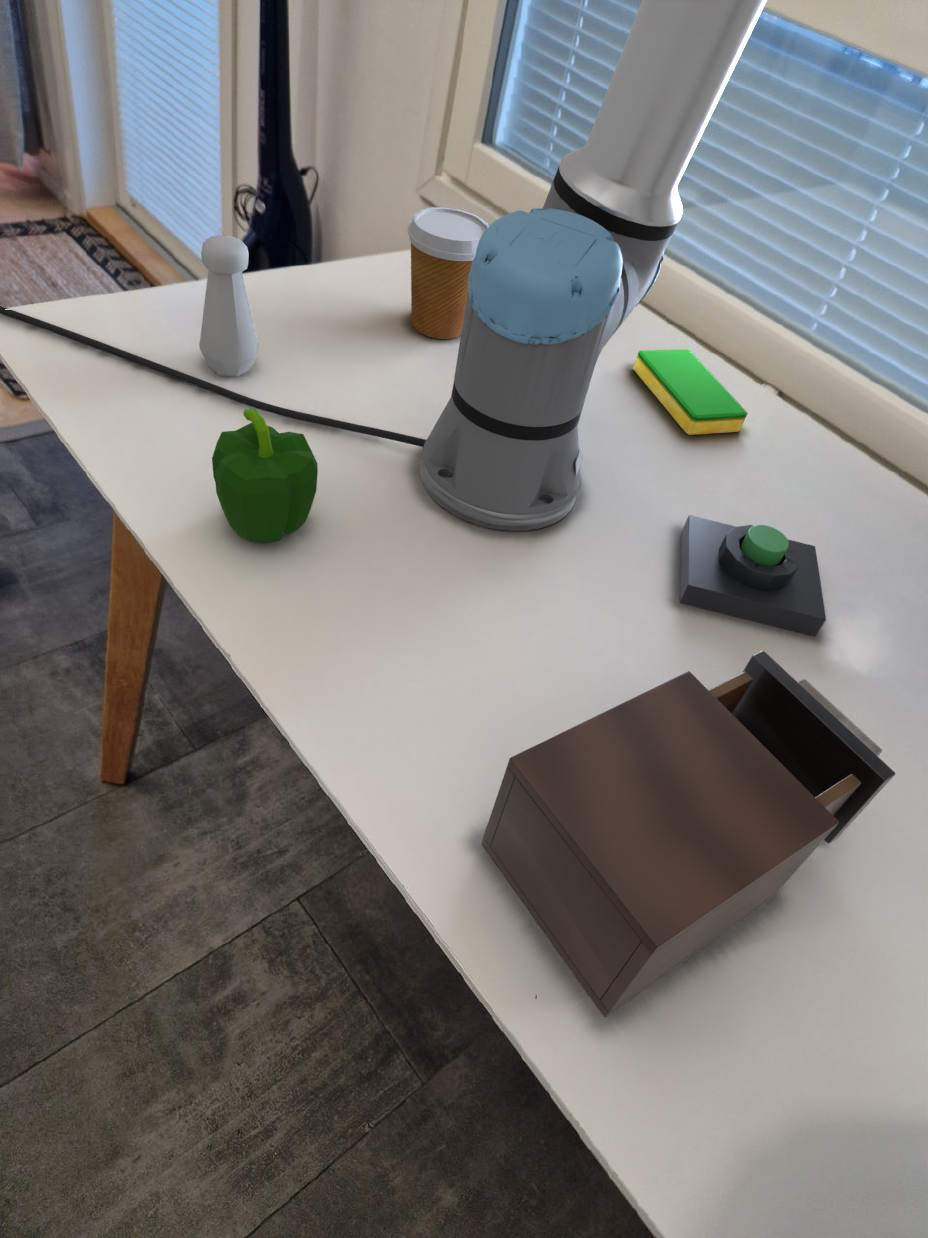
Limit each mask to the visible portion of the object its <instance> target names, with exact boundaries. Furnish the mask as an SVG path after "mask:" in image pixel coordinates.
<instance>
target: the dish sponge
mask: <svg viewBox="0 0 928 1238" xmlns="http://www.w3.org/2000/svg"><path fill="white" fill-rule="evenodd" d="M632 370H633V371H634V372H635V373H636V374H637V376H638V377H639V378H640V380H642V382H643V383H644V384H645V386H647V388H648V389H649V390H650V391H651V393H652V394H653V396H655V398H657V400H658V401H659V402H660V404H661V405H663V406H662V407H664V408H665V410H666V411H667V412H668V413H669V415H670V416H671V417H672V418H673V420H674V421H675V422H676V423H677V424H678V425H679V427H680V428H681V429H682V430H683V432H685V434H687V435H689V436H693V435H694V436H695V435H707V434H722V433H723V434H724V433H735V432H736V433H738V432H740V431H741V429H742V427H743V425H744V423H745V420H746V418H747V416H748V413H749V412H748V411H746V409H745V408H744V407H743V406H742V405H741V404H740V403H739V402H738V401H737V400H736V399H735V397H734V396H733V395H732V394H731V393H730V392H729V391H728V390H727V388H725V386H723V385H722V383H721V382H720V381H719V380H718V379H717V378H716V377H715V376H714V374H713V373H712V372H711V371H710V370H709V369H708V368H707V367H706V366H705V365H704V364H703V362H701V360H699V359H698V358H697V356H696V355H695V354H694V353H693V352H692V351H691V350H689V349H687V348H680V349H679V348H678V349H650V350H649V349H647V350H639V351H638V353H637V356H636V358H635V361H634V364H633V367H632Z"/></svg>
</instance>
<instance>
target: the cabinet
mask: <svg viewBox="0 0 928 1238" xmlns="http://www.w3.org/2000/svg"><path fill="white" fill-rule="evenodd" d="M709 690H710V689H707V687H706V686H705V685H704V684H703V683H702V682H701V681H700V680H699V679H698V678H697V677H696V676H695V675H694V674H693V673H692V672H691V671H689V670H688V671H686V672H684V673H682V674H680V675H678V676H675V677H674V678H671V679H669V680H667V681H665V682H663V683H661V684H659V685H657V686H655V687H652V688H651V689H649V690H647V691H645V692H642V693H641V694H639V695H636V696H634V697H632V698H630V699H628V700H627V701H624V702H622V703H620V704H618V705H616V706H614V707H611V708H610V709H607V710H606V711H603V712H601V713H599V714H597V715H595V716H593V717H591V718H589V719H586V720H585V721H583V722H581V723H579V724H577V725H575V726H573V727H570V728H568V729H566V730H565V731H562V732H560V733H558V734H556V735H554V736H552V737H550V738H548V739H545V740H544V741H542V742H540V743H538V744H536V745H534V746H531V747H529V748H527V749H525V750H523V751H521V752H519V753H517V754H516V755H513V756H511V757H509V759H508V762H507V766H506V768H505V771H504V774H503V777H502V779H501V783H500V786H499V789H498V792H497V795H496V798H495V801H494V804H493V807H492V809H491V812H490V816H489V819H488V821H487V824H486V827H485V831H484V834H483V837H482V841H481V845H482V846H483V848H484V849H485V851H486V852H487V853H488V855H489V856H490V857H491V859H492V860H493V862H494V864H496V866H497V867H498V869H499V870H500V872H501V873H502V875H503V876H504V877H505V879H506V880H507V881H508V883H509V884H510V886H511V887H512V889H513V890H514V891H515V892H516V895H518V897H519V898H520V900H521V901H522V903H523V905H524V906H525V907H526V908H527V910H528V911H529V913H530V914H531V915H532V917H533V918H534V920H535V922H536V923H537V924H538V925H539V926H540V928H541V930H542V931H543V932H544V934H545V935H546V936H547V938H548V939H549V941H550V942H551V943H552V945H553V946H554V947H555V949H556V950H557V952H558V954H559V955H560V957H562V959H563V961H564V962H565V964H567V966H568V967H569V969H570V971H572V973H573V974H574V976H575V977H576V979H577V980H578V982H579V983H580V985H581V986H582V987H583V989H584V991H586V993H587V994H588V996H589V997H590V999H591V1000H592V1002H593V1003H594V1004H595V1006H596V1007H597V1009H598V1010H599V1011H600V1013H601V1014H602V1015H603V1017H604V1018H607V1017H608V1016H610V1015H612V1014H613V1013H614V1012H615V1011H617V1010H618V1009H620V1008H621V1007H623V1006H624V1005H625V1004H627V1003H628V1002H630V1001H631V1000H633V999H634V998H635V997H637V996H638V995H639V994H640V993H642V992H643V991H645V990H646V989H648V988H650V986H652V985H653V984H655V983H657V982H658V981H659V980H660V979H661V978H663V977H664V976H666V975H667V974H668V973H670V972H671V971H673V970H674V969H675V968H678V967H679V966H680V965H681V964H683V963H684V962H685V961H687V960H689V958H691V957H693V956H694V955H696V954H697V953H698V952H699V951H701V950H702V949H704V948H705V947H707V946H708V945H709V944H711V943H712V942H714V941H715V940H716V939H717V938H719V937H720V936H722V935H723V934H724V933H726V932H728V931H729V930H730V929H731V928H733V927H735V926H736V925H738V924H739V923H740V922H742V921H743V920H744V919H746V918H747V917H749V916H750V915H751V914H753V913H754V912H755V911H757V910H758V909H759V908H761V907H763V906H764V905H765V904H767V903H769V902H770V901H771V900H773V898H774V897H775V896H776V895H777V893H779V891H780V890H781V889H782V888H783V887H784V885H786V883H787V882H788V881H789V880H790V879H791V878H792V877H793V875H794V874H795V873H796V872H797V871H798V870H799V869H800V868H801V867H802V866H803V864H805V862H806V861H807V860H808V858H810V856H811V855H812V854H813V853H814V852H815V851H816V850H817V848H818V847H819V846H820V845H821V844H822V843H823V842H824V841H825V840H824V839H825V838H826V837H827V836H828V835H829V833H830V832H831V831H832V830H833V829H834V828H835V827H836V826H837V825H838V823H839V821H838V820H837V819H836V818H835V817H834V816H833V815H832V814H831V813H830V812H829V811H828V810H827V809H826V808H825V807H824V806H823V805H822V804H821V803H820V802H819V801H818V800H817V799H816V798H815V797H814V796H813V795H812V794H811V793H810V792H809V791H808V790H807V789H806V788H805V787H804V786H803V785H802V784H801V783H800V782H799V781H798V780H797V779H796V778H795V777H794V776H793V775H792V774H791V773H790V772H789V771H788V770H787V769H786V768H785V767H784V766H783V765H782V764H781V763H780V762H779V761H778V760H777V759H776V758H775V757H774V756H773V755H772V754H771V753H770V752H769V751H768V750H767V749H766V748H765V747H764V746H763V745H762V744H761V743H760V742H759V741H758V740H757V739H756V738H755V737H754V736H753V735H752V734H751V733H750V732H749V731H748V730H747V729H746V728H745V727H744V726H743V725H742V724H741V723H740V722H739V721H738V720H737V719H736V718H735V717H734V716H733V715H732V714H731V713H730V712H729V711H728V710H727V709H726V708H725V707H724V706H723V705H722V704H721V703H720V702H719V701H718V700H717V699H716V697H715V696H714V695H713V694H712V693H711V692H710V691H709Z"/></svg>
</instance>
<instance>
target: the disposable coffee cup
mask: <svg viewBox="0 0 928 1238" xmlns="http://www.w3.org/2000/svg"><path fill="white" fill-rule="evenodd" d="M490 225H491V224H489V223H488V222H487V221H486V220H485V219H484V218H482V217H480V216H478V215H476V214H474V213H471V212H469V211H465V210H462V209H457V208H451V207H444V206H443V207H441V206H439V207H437V206H436V207H435V206H433V207H426V208H422V209H420V210H417V211H416V212H415V213H414V215H413V216H412V219H411V222H410V223H409V224H408V225H407V234H408V237H409V238H408V239H409V241H410V276H411V277H410V292H411V293H410V295H411V296H410V301H411V302H410V305H411V306H410V307H411V313H410V315H411V317H410V318H411V319H410V320H411V326H412V327H413V329H414V330H415V331H417V333H419V334H421V335H422V336H426V337H429V338H432V339H436V340H437V339H438V340H452V339H456V338H458V337H461V332H462V326H463V320H464V313H465V307H466V301H467V294H468V281H469V280H468V276H469V273H470V270H471V266H472V262H473V259H474V257H475V255H476V250H477V246H478V243H479V241H480V238H481V236H482V235H483V233H484V232H485V230H486V229H487V228H488V227H489V226H490Z"/></svg>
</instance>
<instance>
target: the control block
mask: <svg viewBox="0 0 928 1238" xmlns="http://www.w3.org/2000/svg"><path fill="white" fill-rule="evenodd" d="M753 526H755V525H754V524H747V525H739V526H738V525H737V526H735V525H732V524H727V523H723V522H718V521H715V520H711V519H707V518H703V517H699V516H695V515H692V514H689V515H688V516H687V518H686V521H685V523H684V525H683V527H682V530H681V534H680V567H679V568H680V572H679V604H683V605H687V606H691V607H694V608H698V609H702V610H706V611H709V612H714V613H719V614H722V615H727V616H730V617H734V618H738V619H741V620H747V621H750V622H753V623H758V624H762V625H765V626H770V627H773V628H778V629H782V630H786V631H789V632H794V633H798V634H802V635H806V636H810V637H814V638H815V637H816V636H817V634H818V633H819V631H820V630H821V628H822V627H823V625H824V624H825V622H826V620H827V616H826V610H825V602H824V596H823V589H822V582H821V576H820V570H819V569H820V568H819V562H818V555H817V549H816V545H813V544H812V545H811V544H808V543H804V542H800V541H796V540H792V539H788V538H787V540H788V542H789V547H788V549H787V551H786V552H785V554H784V556H783V558H782V560H781V561H780V563H779V564H778V565H776V566H766V565H762V564H758V563H756V562H755V561H753V560H751V559H750V558H748V557H746V556H745V554H744V553H743V552H742V551H741V544H742V542H743V540H744V538H745V536H746V534H747V532H748V530H749V529H750V528H751V527H753Z"/></svg>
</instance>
